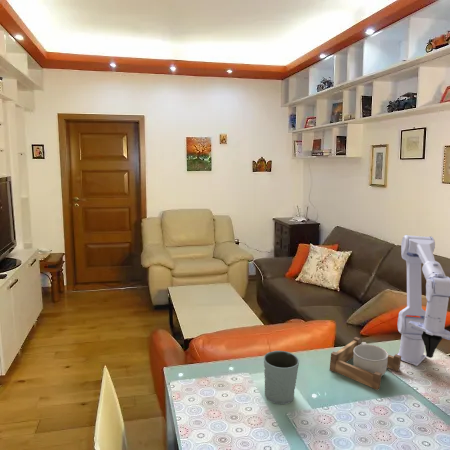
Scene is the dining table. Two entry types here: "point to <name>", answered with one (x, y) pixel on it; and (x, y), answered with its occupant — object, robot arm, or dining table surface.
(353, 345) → the wooden frame
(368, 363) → the teacup
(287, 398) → the grey tumbler
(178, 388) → the dining table surface
